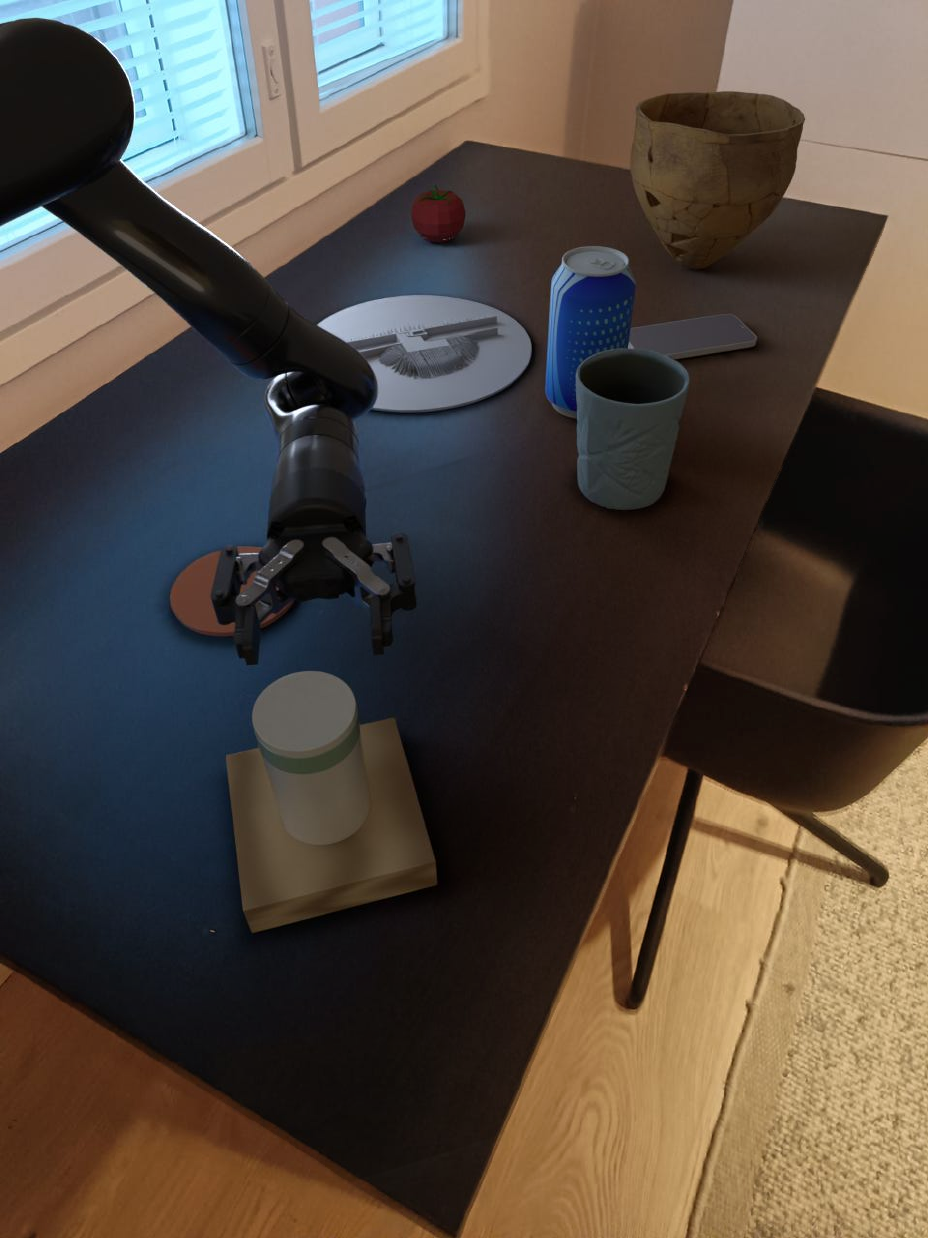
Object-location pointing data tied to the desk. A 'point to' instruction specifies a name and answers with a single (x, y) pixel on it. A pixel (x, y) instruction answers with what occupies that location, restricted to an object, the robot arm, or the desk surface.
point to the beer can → (586, 317)
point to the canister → (313, 756)
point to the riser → (336, 873)
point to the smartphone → (693, 336)
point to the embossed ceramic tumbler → (627, 425)
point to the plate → (433, 350)
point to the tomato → (438, 215)
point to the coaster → (207, 596)
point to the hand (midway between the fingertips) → (314, 651)
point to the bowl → (712, 167)
